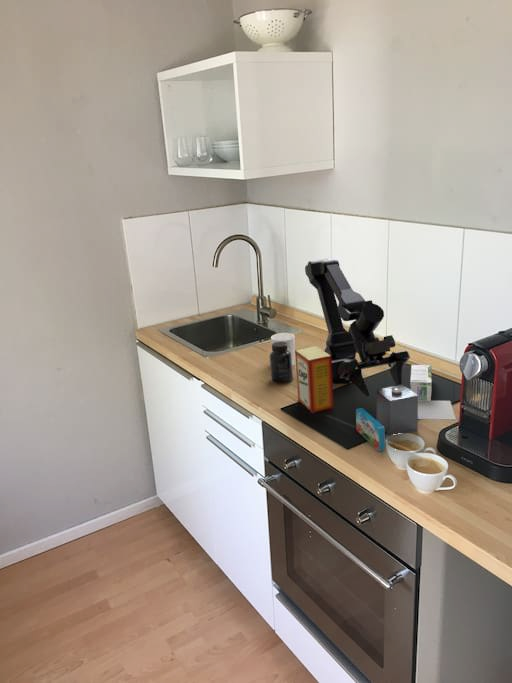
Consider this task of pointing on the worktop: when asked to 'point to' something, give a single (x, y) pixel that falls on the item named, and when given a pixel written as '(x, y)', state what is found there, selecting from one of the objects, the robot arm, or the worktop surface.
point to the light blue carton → (370, 429)
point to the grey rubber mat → (435, 410)
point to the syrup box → (421, 381)
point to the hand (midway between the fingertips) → (384, 393)
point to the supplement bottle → (281, 363)
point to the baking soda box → (314, 378)
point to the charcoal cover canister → (397, 409)
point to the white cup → (288, 339)
